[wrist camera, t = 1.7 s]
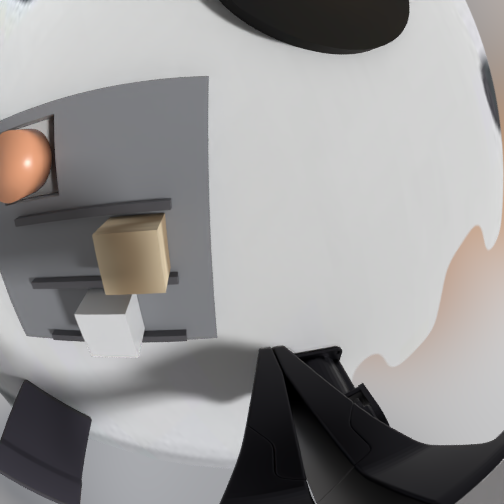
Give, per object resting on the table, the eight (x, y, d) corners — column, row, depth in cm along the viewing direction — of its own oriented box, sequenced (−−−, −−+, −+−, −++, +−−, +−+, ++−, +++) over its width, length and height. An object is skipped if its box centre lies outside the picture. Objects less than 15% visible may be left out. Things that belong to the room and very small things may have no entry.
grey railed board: (208, 80, 16) (209, 73, 14) (216, 326, 24) (217, 343, 22) (-12, 130, 13) (-28, 132, 10) (32, 327, 21) (23, 340, 18)
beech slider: (164, 212, 17) (157, 229, 14) (170, 267, 19) (165, 292, 16) (109, 217, 17) (92, 235, 14) (118, 269, 18) (105, 295, 15)
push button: (50, 122, 13) (30, 121, 11) (54, 188, 15) (35, 197, 13) (5, 137, 13) (-16, 140, 10) (10, 198, 15) (-10, 208, 12)
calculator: (22, 388, 24) (-6, 470, 10) (25, 376, 23) (-8, 465, 9) (85, 425, 28) (73, 509, 15) (93, 416, 27) (79, 509, 14)
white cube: (134, 286, 19) (125, 314, 16) (144, 328, 21) (138, 357, 18) (89, 288, 19) (74, 314, 15) (102, 328, 20) (91, 356, 17)
